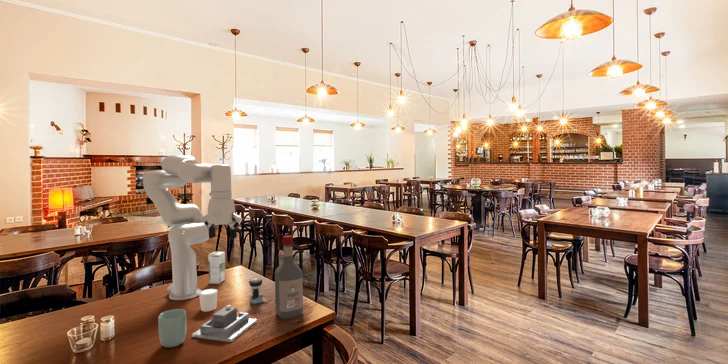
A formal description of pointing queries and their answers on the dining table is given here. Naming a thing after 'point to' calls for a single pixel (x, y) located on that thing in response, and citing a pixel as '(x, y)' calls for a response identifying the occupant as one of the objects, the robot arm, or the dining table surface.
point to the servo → (225, 316)
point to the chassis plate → (225, 329)
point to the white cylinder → (208, 299)
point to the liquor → (288, 284)
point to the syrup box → (216, 267)
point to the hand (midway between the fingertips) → (222, 238)
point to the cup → (172, 327)
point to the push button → (256, 291)
